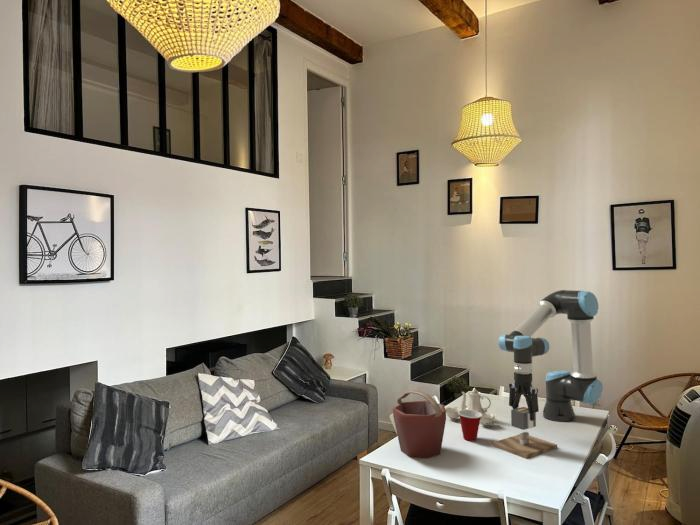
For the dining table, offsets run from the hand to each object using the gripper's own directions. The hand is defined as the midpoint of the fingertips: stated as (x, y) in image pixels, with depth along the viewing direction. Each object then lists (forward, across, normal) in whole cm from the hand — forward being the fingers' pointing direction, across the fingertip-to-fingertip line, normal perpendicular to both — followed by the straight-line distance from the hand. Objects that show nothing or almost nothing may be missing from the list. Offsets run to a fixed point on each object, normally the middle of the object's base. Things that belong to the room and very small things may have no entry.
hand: (523, 425), depth 231 cm
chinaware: (+10, -39, +9) cm, 41 cm away
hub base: (+9, 0, 0) cm, 9 cm away
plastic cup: (+10, -21, -11) cm, 25 cm away
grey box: (0, 0, 0) cm, 0 cm away
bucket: (+10, -23, -38) cm, 45 cm away
